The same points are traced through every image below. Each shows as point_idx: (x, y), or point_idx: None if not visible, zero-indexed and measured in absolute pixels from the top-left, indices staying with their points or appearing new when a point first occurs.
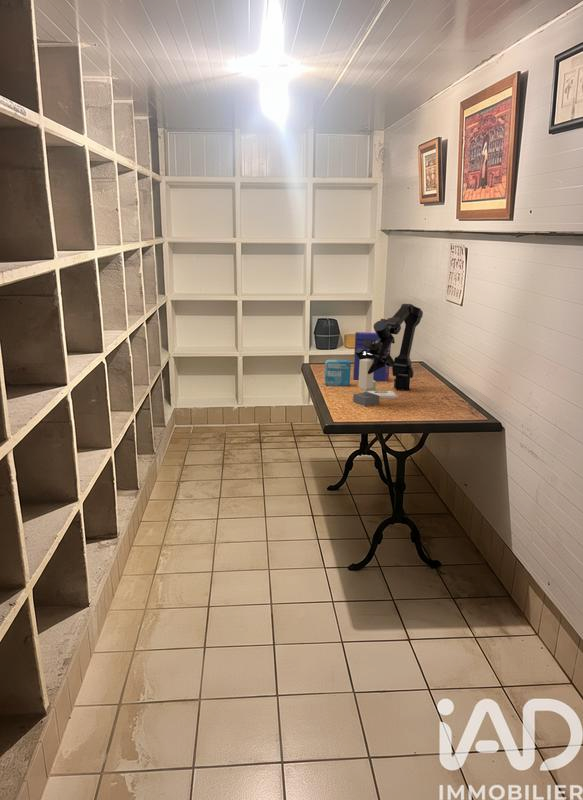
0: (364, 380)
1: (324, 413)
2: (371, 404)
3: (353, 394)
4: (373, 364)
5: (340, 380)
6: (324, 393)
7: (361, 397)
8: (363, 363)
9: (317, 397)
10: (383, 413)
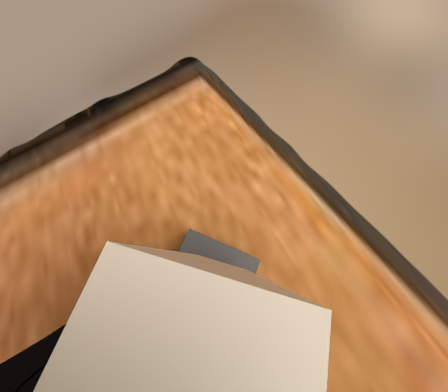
0: (203, 257)
1: (252, 111)
2: None
3: (259, 259)
4: (48, 355)
5: None
6: (416, 311)
7: (211, 238)
8: (212, 268)
9: (383, 236)
10: (116, 196)
